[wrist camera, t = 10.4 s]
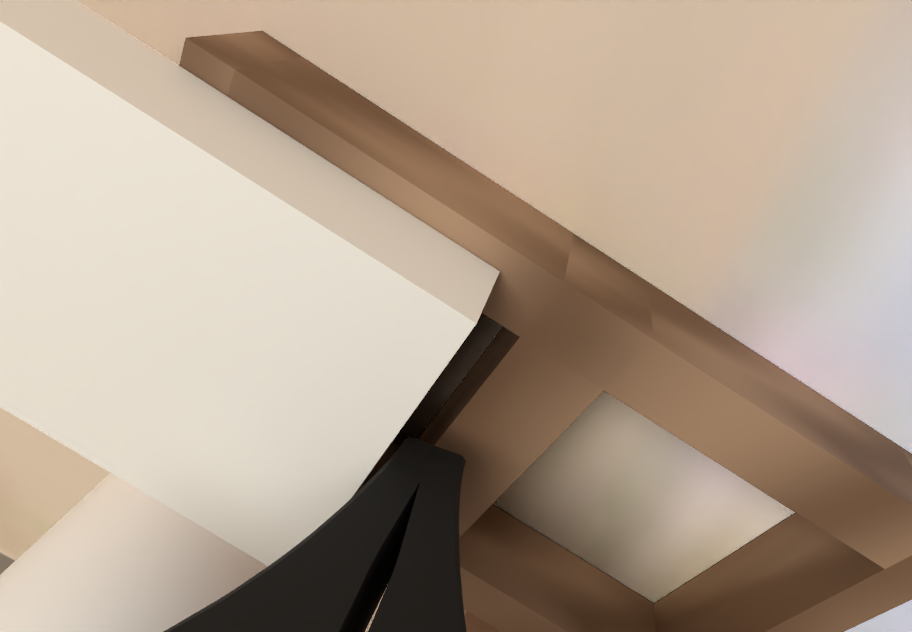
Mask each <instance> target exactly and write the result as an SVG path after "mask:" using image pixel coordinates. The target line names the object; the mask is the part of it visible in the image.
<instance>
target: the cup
mask: <svg viewBox="0 0 912 632" xmlns="http://www.w3.org/2000/svg"><path fill="white" fill-rule="evenodd" d="M266 567H268V566H267V565H265V564H264V563H262V562H260V561H259V560H257V559H255V558H254V557H252V556H250V555H249V554H247V553H245V552H243V551H242V550H240V549H238V548H237V547H235V546H233V545H232V544H230V543H228V542H227V541H225V540H223V539H222V538H220V537H218V536H217V535H215V534H213V533H211V532H210V531H208V530H206V529H205V528H203V527H201V526H200V525H198V524H196V523H195V522H193V521H191V520H190V519H188V518H186V517H184V516H183V515H181V514H179V513H178V512H176V511H174V510H173V509H171V508H169V507H168V506H166V505H164V504H163V503H161V502H159V501H157V500H156V499H154V498H152V497H151V496H149V495H147V494H146V493H144V492H142V491H141V490H139V489H137V488H136V487H134V486H132V485H131V484H129V483H127V482H125V481H124V480H122V479H120V478H119V477H117V476H115V475H114V474H112V473H110V474H108V475H107V476H106V477H105V478H104V479H103V480H102V481H101V482H100V483H99V484H98V485H97V486H96V487H94V488H93V489H92V490H91V491H90V492H89V493H88V494H87V495H86V496H85V497H84V498H83V499H82V500H80V501H79V502H78V503H77V504H76V505H75V506H74V507H73V508H72V509H71V510H70V511H69V512H68V513H66V514H65V515H64V516H63V517H62V518H61V519H60V520H59V521H58V522H57V523H56V524H55V525H54V526H52V527H51V528H50V529H49V530H48V531H47V532H46V533H45V534H44V535H43V536H42V537H41V538H39V539H38V540H37V541H36V542H35V543H34V544H33V545H32V546H31V547H30V548H29V549H28V550H27V551H25V552H24V553H23V554H22V555H21V556H20V557H19V558H18V559H17V560H16V561H15V562H14V563H13V564H11V565H10V566H9V567H8V568H7V569H6V570H5V571H4V572H3V573H2V574H1V575H0V632H163V631H165V630H167V629H169V628H171V627H172V626H174V625H176V624H177V623H179V622H181V621H182V620H184V619H186V618H188V617H189V616H191V615H193V614H194V613H196V612H198V611H200V610H201V609H203V608H205V607H206V606H208V605H210V604H212V603H213V602H215V601H217V600H218V599H220V598H221V597H223V596H225V595H226V594H228V593H229V592H231V591H232V590H234V589H235V588H237V587H239V586H240V585H242V584H243V583H244V582H246V581H247V580H249V579H250V578H252V577H253V576H255V575H256V574H258V573H259V572H261V571H262V570H264V569H265V568H266Z"/></svg>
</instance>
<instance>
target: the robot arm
mask: <svg viewBox="0 0 912 632" xmlns="http://www.w3.org/2000/svg"><path fill="white" fill-rule="evenodd" d="M465 463H466V461H465V459H464V457H463V456H462V455H459V454H457V453H454V452H451V451H448V450H445V449H443V448H440V447H437V446H434V445H432V444H429V443H426V442H423V441H420V440H418V439H415V438H412V437H409V438H406V439H404V441H403V442H402V443H401V445H400V446H399V448H398V449H397V450H396V451H395V453H394V454H393V455H392V456H391V457H390V459H389V460H388V461H387V462H386V463H385V464H384V465H383V467H382V468H381V469H380V470H379V471H378V472H377V473H376V474H375V475H374V476H373V477H372V478H371V479H370V480H369V481H368V482H367V483H366V484H365V485H364V486H363V487H362V488H361V489H360V490H359V491H358V492H357V493H356V494H355V495H354V496H353V497H352V498H351V499H350V500H349V501H348V502H347V503H346V504H345V505H344V506H342V507H341V508H340V509H339V510H338V511H337V512H336V513H334V514H333V515H332V516H331V517H330V518H329V519H328V520H326V521H325V522H324V523H323V524H322V525H321V526H319V527H318V528H317V529H316V530H315V531H314V532H312V533H311V534H310V535H309V536H307V537H306V538H305V539H304V540H302V541H301V542H300V543H299V544H297V545H296V546H295V547H294V548H292V549H291V550H290V551H288V552H287V553H286V554H284V555H283V556H282V557H280V558H279V559H278V560H276V561H275V562H273V563H272V564H271V565H269V566H268V567H266V568H265V569H264V570H262V571H261V572H259V573H258V574H256V575H255V576H253V577H252V578H250V579H249V580H247V581H246V582H244V583H243V584H242V585H240V586H239V587H237V588H235V589H234V590H232V591H231V592H229V593H228V594H226V595H225V596H223V597H221V598H220V599H218V600H217V601H215V602H213V603H212V604H210V605H208V606H206V607H205V608H203V609H201V610H200V611H198V612H196V613H194V614H193V615H191V616H189V617H188V618H186V619H184V620H182V621H181V622H179V623H177V624H176V625H174V626H172V627H171V628H169V629H167V630H165V631H163V632H365V630H366V628H367V626H368V624H369V622H370V620H371V618H372V615H373V613H374V611H375V609H376V607H377V605H378V603H379V601H380V599H381V597H382V595H383V593H384V591H385V589H386V591H385V593H384V595H383V598H382V600H381V603H380V605H379V607H378V610H377V612H376V615H375V617H374V619H373V622H372V624H371V626H370V629H369V631H368V632H467V630H466V623H465V615H464V607H463V597H462V585H461V573H460V555H459V507H460V492H461V483H462V476H463V471H464V466H465ZM387 585H388V586H387ZM386 587H387V588H386Z"/></svg>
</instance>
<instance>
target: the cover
mask: <svg viewBox="0 0 912 632" xmlns="http://www.w3.org/2000/svg"><path fill="white" fill-rule="evenodd" d="M499 272H500V271H498V270H497V269H495V268H494V267H492V266H491V265H489V264H487V263H486V262H484V261H483V260H481V259H480V258H478V257H477V256H475V255H473V254H472V253H470V252H469V251H467V250H466V249H464V248H463V247H461V246H459V245H458V244H456V243H455V242H453V241H452V240H450V239H449V238H447V237H445V236H444V235H442V234H441V233H439V232H438V231H436V230H435V229H433V228H431V227H430V226H428V225H427V224H425V223H424V222H422V221H420V220H419V219H417V218H416V217H414V216H413V215H411V214H410V213H408V212H406V211H405V210H403V209H402V208H400V207H399V206H397V205H396V204H394V203H392V202H391V201H389V200H388V199H386V198H385V197H383V196H382V195H380V194H378V193H377V192H375V191H374V190H372V189H371V188H369V187H368V186H366V185H364V184H363V183H361V182H360V181H358V180H357V179H355V178H353V177H352V176H350V175H349V174H347V173H346V172H344V171H343V170H341V169H339V168H338V167H336V166H335V165H333V164H332V163H330V162H329V161H327V160H325V159H324V158H322V157H321V156H319V155H318V154H316V153H315V152H313V151H311V150H310V149H308V148H307V147H305V146H304V145H302V144H301V143H299V142H297V141H296V140H294V139H293V138H291V137H290V136H288V135H286V134H285V133H283V132H282V131H280V130H279V129H277V128H276V127H274V126H272V125H271V124H269V123H268V122H266V121H265V120H263V119H262V118H260V117H258V116H257V115H255V114H254V113H252V112H251V111H249V110H248V109H246V108H244V107H243V106H241V105H240V104H238V103H237V102H235V101H234V100H232V99H230V98H229V97H227V96H226V95H224V94H223V93H221V92H219V91H218V90H216V89H215V88H213V87H212V86H210V85H209V84H207V83H205V82H204V81H202V80H201V79H199V78H198V77H196V76H195V75H193V74H191V73H190V72H188V71H187V70H185V69H184V68H182V67H181V66H179V65H177V64H176V63H174V62H173V61H171V60H170V59H168V58H167V57H165V56H163V55H162V54H160V53H159V52H157V51H156V50H154V49H153V48H151V47H149V46H148V45H146V44H145V43H143V42H142V41H140V40H138V39H137V38H135V37H134V36H132V35H131V34H129V33H128V32H126V31H124V30H123V29H121V28H120V27H118V26H117V25H115V24H114V23H112V22H110V21H109V20H107V19H106V18H104V17H103V16H101V15H100V14H98V13H96V12H95V11H93V10H92V9H90V8H89V7H87V6H86V5H84V4H82V3H81V2H79V1H78V0H0V407H1V408H2V409H4V410H6V411H7V412H9V413H11V414H13V415H14V416H16V417H18V418H19V419H21V420H23V421H24V422H26V423H28V424H29V425H31V426H33V427H34V428H36V429H38V430H39V431H41V432H43V433H45V434H46V435H48V436H50V437H51V438H53V439H55V440H56V441H58V442H60V443H61V444H63V445H65V446H66V447H68V448H70V449H72V450H73V451H75V452H77V453H78V454H80V455H82V456H83V457H85V458H87V459H88V460H90V461H92V462H93V463H95V464H97V465H98V466H100V467H102V468H104V469H105V470H107V471H109V472H110V473H112V474H114V475H115V476H117V477H119V478H120V479H122V480H124V481H125V482H127V483H129V484H131V485H132V486H134V487H136V488H137V489H139V490H141V491H142V492H144V493H146V494H147V495H149V496H151V497H152V498H154V499H156V500H157V501H159V502H161V503H163V504H164V505H166V506H168V507H169V508H171V509H173V510H174V511H176V512H178V513H179V514H181V515H183V516H184V517H186V518H188V519H190V520H191V521H193V522H195V523H196V524H198V525H200V526H201V527H203V528H205V529H206V530H208V531H210V532H211V533H213V534H215V535H217V536H218V537H220V538H222V539H223V540H225V541H227V542H228V543H230V544H232V545H233V546H235V547H237V548H238V549H240V550H242V551H243V552H245V553H247V554H249V555H250V556H252V557H254V558H255V559H257V560H259V561H260V562H262V563H264V564H265V565H267V566H269V565H271V564H272V563H273V562H275V561H276V560H278V559H279V558H280V557H282V556H283V555H284V554H286V553H287V552H288V551H290V550H291V549H292V548H294V547H295V546H296V545H297V544H299V543H300V542H301V541H302V540H304V539H305V538H306V537H307V536H309V535H310V534H311V533H312V532H314V531H315V530H316V529H317V528H318V527H319V526H321V525H322V524H323V523H324V522H325V521H326V520H328V519H329V518H330V517H331V516H332V515H333V514H334V513H336V512H337V511H338V510H339V509H340V508H341V507H342V506H344V505H345V504H346V503H347V502H348V501H349V500H350V499H351V498H352V497H353V495H354V494H355V492H356V491H357V490H358V488H359V487H360V486H361V484H362V483H363V481H364V480H365V479H366V477H367V476H368V474H369V473H370V472H371V470H372V469H373V467H374V466H375V465H376V463H377V462H378V460H379V459H380V458H381V456H382V455H383V453H384V452H385V451H386V449H387V448H388V446H389V445H390V444H391V442H392V441H393V440H394V438H395V437H396V435H397V434H398V433H399V431H400V430H401V428H402V427H403V426H404V424H405V423H406V421H407V420H408V419H409V417H410V416H411V414H412V413H413V412H414V410H415V409H416V407H417V406H418V405H419V403H420V402H421V400H422V399H423V398H424V396H425V395H426V394H427V392H428V391H429V389H430V388H431V387H432V385H433V384H434V382H435V381H436V380H437V378H438V377H439V375H440V374H441V373H442V371H443V370H444V368H445V367H446V366H447V364H448V363H449V361H450V360H451V359H452V357H453V356H454V354H455V353H456V352H457V350H458V349H459V348H460V346H461V345H462V343H463V342H464V341H465V339H466V338H467V336H468V335H469V334H470V332H471V331H472V329H473V328H474V327H475V325H476V324H477V322H478V319H479V317H480V315H481V313H482V310H483V308H484V306H485V304H486V302H487V299H488V297H489V295H490V293H491V290H492V288H493V286H494V284H495V281H496V279H497V277H498V275H499Z"/></svg>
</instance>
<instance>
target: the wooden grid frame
mask: <svg viewBox="0 0 912 632" xmlns="http://www.w3.org/2000/svg"><path fill="white" fill-rule="evenodd" d="M179 66H181V67H182V68H184V69H185V70H187V71H188V72H190V73H191V74H193V75H195V76H196V77H198V78H199V79H201V80H202V81H204V82H205V83H207V84H209V85H210V86H212V87H213V88H215V89H216V90H218V91H219V92H221V93H223V94H224V95H226V96H227V97H229V98H230V99H232V100H234V101H235V102H237V103H238V104H240V105H241V106H243V107H244V108H246V109H248V110H249V111H251V112H252V113H254V114H255V115H257V116H258V117H260V118H262V119H263V120H265V121H266V122H268V123H269V124H271V125H272V126H274V127H276V128H277V129H279V130H280V131H282V132H283V133H285V134H286V135H288V136H290V137H291V138H293V139H294V140H296V141H297V142H299V143H301V144H302V145H304V146H305V147H307V148H308V149H310V150H311V151H313V152H315V153H316V154H318V155H319V156H321V157H322V158H324V159H325V160H327V161H329V162H330V163H332V164H333V165H335V166H336V167H338V168H339V169H341V170H343V171H344V172H346V173H347V174H349V175H350V176H352V177H353V178H355V179H357V180H358V181H360V182H361V183H363V184H364V185H366V186H368V187H369V188H371V189H372V190H374V191H375V192H377V193H378V194H380V195H382V196H383V197H385V198H386V199H388V200H389V201H391V202H392V203H394V204H396V205H397V206H399V207H400V208H402V209H403V210H405V211H406V212H408V213H410V214H411V215H413V216H414V217H416V218H417V219H419V220H420V221H422V222H424V223H425V224H427V225H428V226H430V227H431V228H433V229H435V230H436V231H438V232H439V233H441V234H442V235H444V236H445V237H447V238H449V239H450V240H452V241H453V242H455V243H456V244H458V245H459V246H461V247H463V248H464V249H466V250H467V251H469V252H470V253H472V254H473V255H475V256H477V257H478V258H480V259H481V260H483V261H484V262H486V263H487V264H489V265H491V266H492V267H494V268H495V269H497V270H498V271H500V272H499V275H498V277H497V279H496V281H495V284H494V286H493V288H492V290H491V293H490V295H489V297H488V299H487V302H486V304H485V306H484V308H483V310H482V313H483V314H484V315H486V316H487V317H489V318H491V319H492V320H494V321H495V322H497V323H498V324H500V325H502V326H503V328H502V329H501V331H500V332H499V333H498V334H497V336H496V337H495V338H494V340H493V341H492V342H491V344H490V345H489V346H488V348H487V349H486V350H485V352H484V353H483V354H482V356H481V357H480V358H479V360H478V361H477V362H476V364H475V365H474V366H473V367H472V369H471V370H470V371H469V373H468V374H467V375H466V377H465V378H464V379H463V381H462V382H461V383H460V385H459V386H458V387H457V389H456V390H455V391H454V393H453V394H452V395H451V397H450V398H449V399H448V400H447V402H446V403H445V404H444V406H443V407H442V408H441V410H440V411H439V412H438V414H437V415H436V416H435V418H434V419H433V420H432V422H431V423H430V424H429V426H428V427H427V428H426V430H425V431H424V432H423V434H422V435H421V436H420V437H419V439H418V440H420V441H423V442H426V443H429V444H432V445H434V446H437V447H440V448H443V449H445V450H448V451H451V452H454V453H457V454H459V455H462V456H463V457H464V459H465V461H466V463H465V466H464V471H463V476H462V483H461V492H460V507H459V555H460V573H461V585H462V597H463V607H464V609H465V610H466V611H468V612H470V613H471V614H473V615H475V616H476V617H478V618H480V619H481V620H483V621H485V622H486V623H488V624H490V625H491V626H493V627H495V628H496V629H498V630H500V631H501V632H844V631H846V630H848V629H850V628H852V627H855V626H857V625H859V624H861V623H863V622H865V621H867V620H869V619H871V618H874V617H876V616H878V615H880V614H882V613H884V612H886V611H888V610H890V609H893V608H895V607H897V606H899V605H901V604H903V603H905V602H907V601H909V600H912V454H911V453H909V452H908V451H906V450H905V449H903V448H902V447H900V446H899V445H897V444H895V443H894V442H892V441H891V440H889V439H888V438H886V437H885V436H883V435H882V434H880V433H879V432H877V431H875V430H874V429H872V428H871V427H869V426H868V425H866V424H865V423H863V422H862V421H860V420H859V419H857V418H856V417H854V416H852V415H851V414H849V413H848V412H846V411H845V410H843V409H842V408H840V407H839V406H837V405H836V404H834V403H833V402H831V401H829V400H828V399H826V398H825V397H823V396H822V395H820V394H819V393H817V392H816V391H814V390H813V389H811V388H809V387H808V386H806V385H805V384H803V383H802V382H800V381H799V380H797V379H796V378H794V377H793V376H791V375H790V374H788V373H786V372H785V371H783V370H782V369H780V368H779V367H777V366H776V365H774V364H773V363H771V362H770V361H768V360H766V359H765V358H763V357H762V356H760V355H759V354H757V353H756V352H754V351H753V350H751V349H750V348H748V347H747V346H745V345H743V344H742V343H740V342H739V341H737V340H736V339H734V338H733V337H731V336H730V335H728V334H727V333H725V332H724V331H722V330H720V329H719V328H717V327H716V326H714V325H713V324H711V323H710V322H708V321H707V320H705V319H704V318H702V317H700V316H699V315H697V314H696V313H694V312H693V311H691V310H690V309H688V308H687V307H685V306H684V305H682V304H681V303H679V302H677V301H676V300H674V299H673V298H671V297H670V296H668V295H667V294H665V293H664V292H662V291H661V290H659V289H658V288H656V287H654V286H653V285H651V284H650V283H648V282H647V281H645V280H644V279H642V278H641V277H639V276H638V275H636V274H634V273H633V272H631V271H630V270H628V269H627V268H625V267H624V266H622V265H621V264H619V263H618V262H616V261H615V260H613V259H611V258H610V257H608V256H607V255H605V254H604V253H602V252H601V251H599V250H598V249H596V248H595V247H593V246H592V245H590V244H588V243H587V242H585V241H584V240H582V239H581V238H579V237H578V236H576V235H575V234H573V233H572V232H570V231H568V230H567V229H565V228H564V227H562V226H561V225H559V224H558V223H556V222H555V221H553V220H552V219H550V218H549V217H547V216H545V215H544V214H542V213H541V212H539V211H538V210H536V209H535V208H533V207H532V206H530V205H529V204H527V203H526V202H524V201H522V200H521V199H519V198H518V197H516V196H515V195H513V194H512V193H510V192H509V191H507V190H506V189H504V188H502V187H501V186H499V185H498V184H496V183H495V182H493V181H492V180H490V179H489V178H487V177H486V176H484V175H483V174H481V173H479V172H478V171H476V170H475V169H473V168H472V167H470V166H469V165H467V164H466V163H464V162H463V161H461V160H460V159H458V158H456V157H455V156H453V155H452V154H450V153H449V152H447V151H446V150H444V149H443V148H441V147H440V146H438V145H436V144H435V143H433V142H432V141H430V140H429V139H427V138H426V137H424V136H423V135H421V134H420V133H418V132H417V131H415V130H413V129H412V128H410V127H409V126H407V125H406V124H404V123H403V122H401V121H400V120H398V119H397V118H395V117H393V116H392V115H390V114H389V113H387V112H386V111H384V110H383V109H381V108H380V107H378V106H377V105H375V104H374V103H372V102H370V101H369V100H367V99H366V98H364V97H363V96H361V95H360V94H358V93H357V92H355V91H354V90H352V89H351V88H349V87H347V86H346V85H344V84H343V83H341V82H340V81H338V80H337V79H335V78H334V77H332V76H331V75H329V74H327V73H326V72H324V71H323V70H321V69H320V68H318V67H317V66H315V65H314V64H312V63H311V62H309V61H308V60H306V59H304V58H303V57H301V56H300V55H298V54H297V53H295V52H294V51H292V50H291V49H289V48H288V47H286V46H285V45H283V44H281V43H280V42H278V41H277V40H275V39H274V38H272V37H271V36H269V35H268V34H266V33H265V32H263V31H255V32H245V33H234V34H223V35H212V36H201V37H190V38H186V39H185V43H184V48H183V52H182V56H181V61H180V65H179ZM603 391H605V392H607V393H609V394H610V395H612V396H613V397H615V398H616V399H618V400H620V401H621V402H623V403H624V404H626V405H627V406H629V407H631V408H632V409H634V410H635V411H637V412H638V413H640V414H642V415H643V416H645V417H646V418H648V419H649V420H651V421H653V422H654V423H656V424H657V425H659V426H660V427H662V428H664V429H665V430H667V431H668V432H670V433H671V434H673V435H675V436H676V437H678V438H679V439H681V440H682V441H684V442H686V443H687V444H689V445H690V446H692V447H693V448H695V449H697V450H698V451H700V452H701V453H703V454H704V455H706V456H708V457H709V458H711V459H712V460H714V461H715V462H717V463H719V464H720V465H722V466H723V467H725V468H726V469H728V470H730V471H731V472H733V473H734V474H736V475H737V476H739V477H741V478H742V479H744V480H745V481H747V482H748V483H750V484H752V485H753V486H755V487H756V488H758V489H759V490H761V491H763V492H764V493H766V494H767V495H769V496H771V497H772V498H774V499H775V500H777V501H778V502H780V503H782V504H783V505H785V506H786V507H788V508H789V509H791V510H793V511H794V512H796V513H795V514H793V515H792V516H790V517H789V518H787V519H786V520H784V521H782V522H781V523H779V524H778V525H776V526H775V527H773V528H772V529H770V530H768V531H767V532H765V533H764V534H762V535H761V536H759V537H757V538H756V539H754V540H753V541H751V542H750V543H748V544H747V545H745V546H743V547H742V548H740V549H739V550H737V551H736V552H734V553H733V554H731V555H729V556H728V557H726V558H725V559H723V560H722V561H720V562H718V563H717V564H715V565H714V566H712V567H711V568H709V569H708V570H706V571H704V572H703V573H701V574H700V575H698V576H697V577H695V578H694V579H692V580H690V581H689V582H687V583H686V584H684V585H683V586H681V587H680V588H678V589H676V590H675V591H673V592H672V593H670V594H669V595H667V596H665V597H664V598H662V599H661V600H659V601H658V602H656V603H655V604H654V603H652V602H650V601H649V600H647V599H645V598H644V597H642V596H641V595H639V594H637V593H636V592H634V591H632V590H631V589H629V588H628V587H626V586H624V585H623V584H621V583H619V582H618V581H616V580H615V579H613V578H611V577H610V576H608V575H606V574H605V573H603V572H602V571H600V570H598V569H597V568H595V567H593V566H592V565H590V564H589V563H587V562H585V561H584V560H582V559H580V558H579V557H577V556H576V555H574V554H572V553H571V552H569V551H567V550H566V549H564V548H563V547H561V546H559V545H558V544H556V543H554V542H553V541H551V540H550V539H548V538H546V537H545V536H543V535H541V534H540V533H538V532H537V531H535V530H533V529H532V528H530V527H528V526H527V525H525V524H524V523H522V522H520V521H519V520H517V519H515V518H514V517H512V516H511V515H509V514H507V513H506V512H504V511H502V510H501V509H499V508H498V507H496V506H494V505H493V503H494V502H495V501H496V500H497V499H498V498H499V497H500V496H501V495H502V494H503V493H504V492H505V491H506V490H507V489H508V488H509V487H510V486H511V485H512V483H513V482H514V481H515V480H516V479H517V478H518V477H519V476H520V475H521V474H522V473H523V472H524V471H525V470H526V469H527V468H528V467H529V466H530V465H531V464H532V463H533V462H534V461H535V460H536V459H537V458H538V457H539V456H540V455H541V454H542V453H543V452H544V451H545V450H546V449H547V448H548V447H549V446H550V445H551V444H552V443H553V442H554V441H555V440H556V439H557V438H558V437H559V436H560V435H561V434H562V433H563V432H564V431H565V429H566V428H567V427H568V426H569V425H570V424H571V423H572V422H573V421H574V420H575V419H576V418H577V417H578V416H579V415H580V414H581V413H582V412H583V411H584V410H585V409H586V408H587V407H588V406H589V405H590V404H591V403H592V402H593V401H594V400H595V399H596V398H597V397H598V396H599V395H600V394H601V393H602V392H603ZM398 448H399V447H398V446H397V445H395V444H394V443H392V442H391V444H390V445H389V446H388V448H387V449H386V451H385V452H384V453H383V455H382V456H381V458H380V459H379V460H378V462H377V463H376V465H375V466H374V467H373V469H372V470H371V472H370V473H369V474H368V476H367V477H366V479H365V480H364V481H363V483H362V484H361V486H360V487H359V488H358V490H357V491H356V492H355V494H356V493H357V492H358V491H359V490H360V489H361V488H362V487H363V486H364V485H365V484H366V483H367V482H368V481H369V480H370V479H371V478H372V477H373V476H374V475H375V474H376V473H377V472H378V471H379V470H380V469H381V468H382V467H383V465H384V464H385V463H386V462H387V461H388V460H389V459H390V457H391V456H392V455H393V454H394V453H395V451H396V450H397V449H398ZM355 494H354V495H355ZM354 495H353V496H354Z"/></svg>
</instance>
